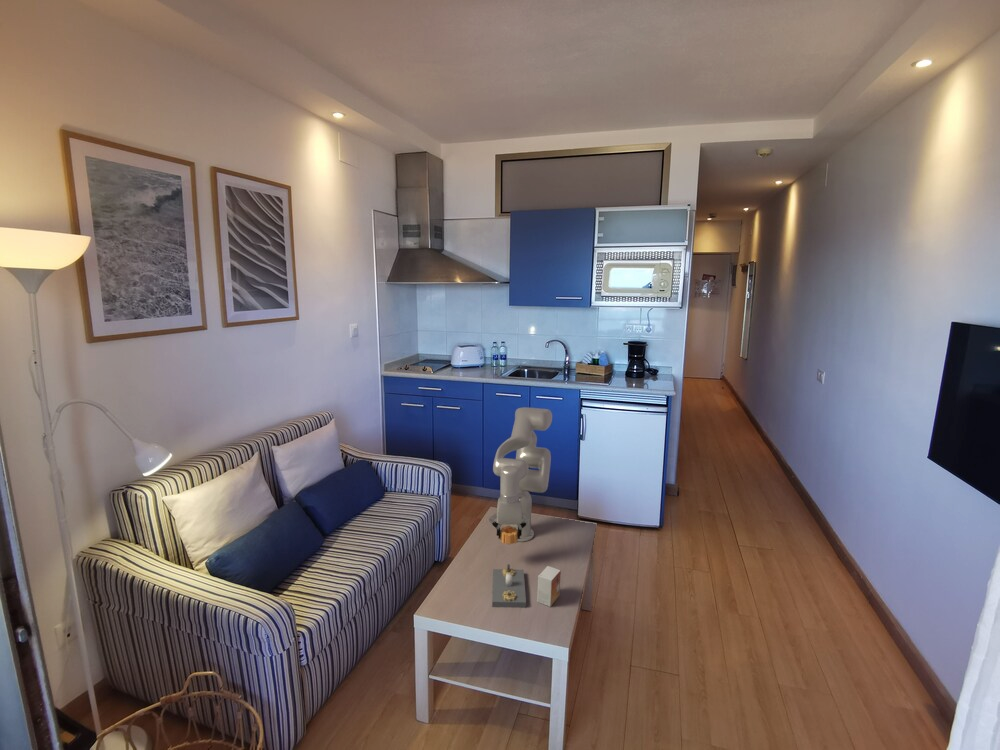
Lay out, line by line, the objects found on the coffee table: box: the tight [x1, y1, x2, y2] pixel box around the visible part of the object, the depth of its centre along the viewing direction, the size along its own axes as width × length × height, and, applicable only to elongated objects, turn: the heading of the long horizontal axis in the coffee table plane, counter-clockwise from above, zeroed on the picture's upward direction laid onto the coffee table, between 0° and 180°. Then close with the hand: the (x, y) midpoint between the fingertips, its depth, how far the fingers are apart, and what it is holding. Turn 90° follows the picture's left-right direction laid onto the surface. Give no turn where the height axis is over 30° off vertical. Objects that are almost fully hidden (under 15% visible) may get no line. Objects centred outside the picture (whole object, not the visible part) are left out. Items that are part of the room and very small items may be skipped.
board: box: [491, 563, 527, 608], centre depth 184 cm, size 20×12×6 cm, turn 0°
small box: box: [536, 565, 561, 608], centre depth 179 cm, size 8×6×10 cm
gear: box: [499, 525, 518, 545], centre depth 198 cm, size 7×7×4 cm
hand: (509, 536), depth 198 cm, fingers closed on gear, 7 cm apart
